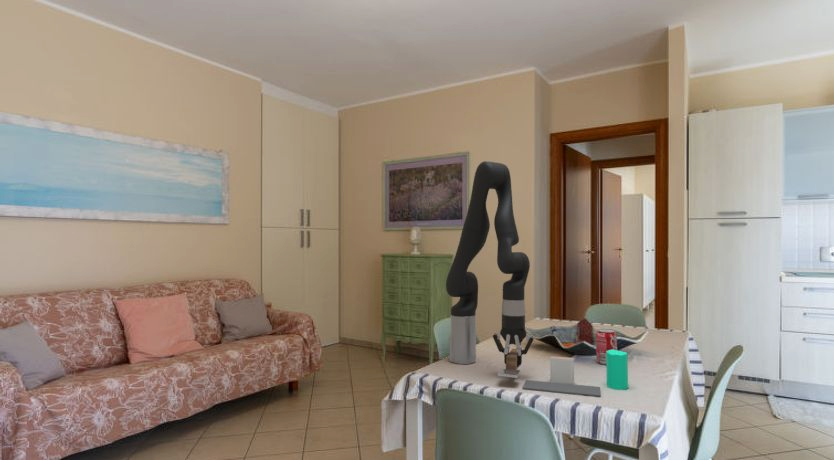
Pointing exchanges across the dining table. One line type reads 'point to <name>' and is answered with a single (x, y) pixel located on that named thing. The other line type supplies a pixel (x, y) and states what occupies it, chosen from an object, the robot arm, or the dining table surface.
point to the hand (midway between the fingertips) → (513, 365)
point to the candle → (617, 369)
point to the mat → (562, 388)
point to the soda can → (605, 343)
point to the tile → (562, 370)
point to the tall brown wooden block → (510, 365)
